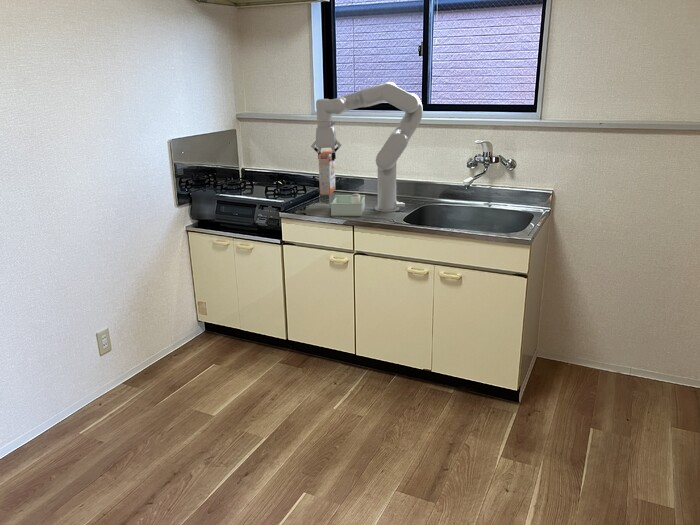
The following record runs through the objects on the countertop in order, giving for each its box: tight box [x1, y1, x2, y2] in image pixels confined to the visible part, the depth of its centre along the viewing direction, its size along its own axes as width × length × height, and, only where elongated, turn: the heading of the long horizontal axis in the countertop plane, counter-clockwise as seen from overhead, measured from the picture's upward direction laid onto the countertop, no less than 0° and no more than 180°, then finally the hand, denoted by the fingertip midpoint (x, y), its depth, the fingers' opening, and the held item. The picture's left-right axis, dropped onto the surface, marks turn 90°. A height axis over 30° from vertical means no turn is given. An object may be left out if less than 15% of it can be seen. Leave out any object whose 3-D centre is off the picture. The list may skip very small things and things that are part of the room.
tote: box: [329, 194, 366, 217], centre depth 290 cm, size 16×18×7 cm
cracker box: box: [318, 149, 336, 196], centre depth 292 cm, size 14×6×21 cm, turn 170°
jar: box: [351, 193, 361, 203], centre depth 289 cm, size 4×4×9 cm
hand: (327, 160), depth 290 cm, fingers closed on cracker box, 6 cm apart
